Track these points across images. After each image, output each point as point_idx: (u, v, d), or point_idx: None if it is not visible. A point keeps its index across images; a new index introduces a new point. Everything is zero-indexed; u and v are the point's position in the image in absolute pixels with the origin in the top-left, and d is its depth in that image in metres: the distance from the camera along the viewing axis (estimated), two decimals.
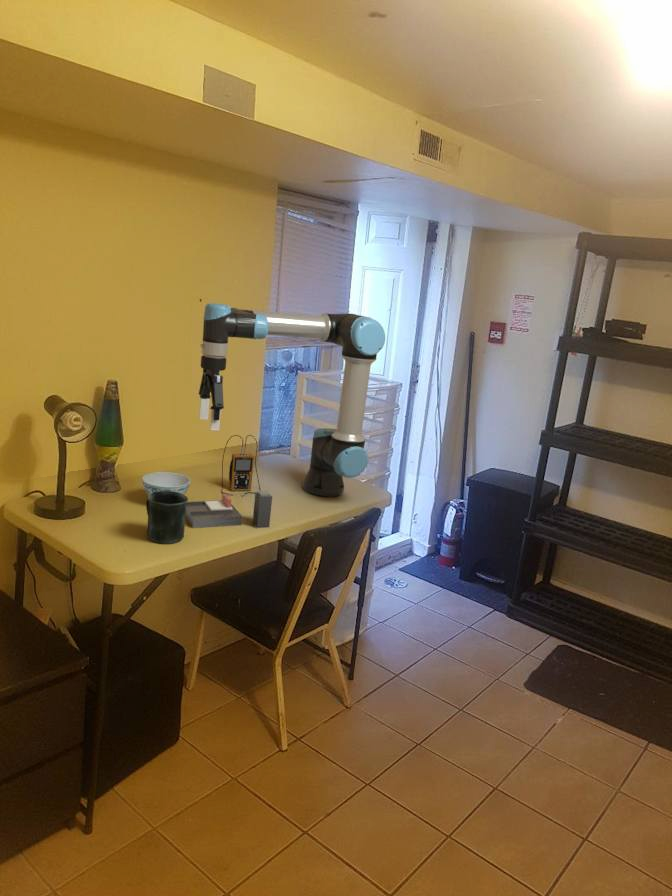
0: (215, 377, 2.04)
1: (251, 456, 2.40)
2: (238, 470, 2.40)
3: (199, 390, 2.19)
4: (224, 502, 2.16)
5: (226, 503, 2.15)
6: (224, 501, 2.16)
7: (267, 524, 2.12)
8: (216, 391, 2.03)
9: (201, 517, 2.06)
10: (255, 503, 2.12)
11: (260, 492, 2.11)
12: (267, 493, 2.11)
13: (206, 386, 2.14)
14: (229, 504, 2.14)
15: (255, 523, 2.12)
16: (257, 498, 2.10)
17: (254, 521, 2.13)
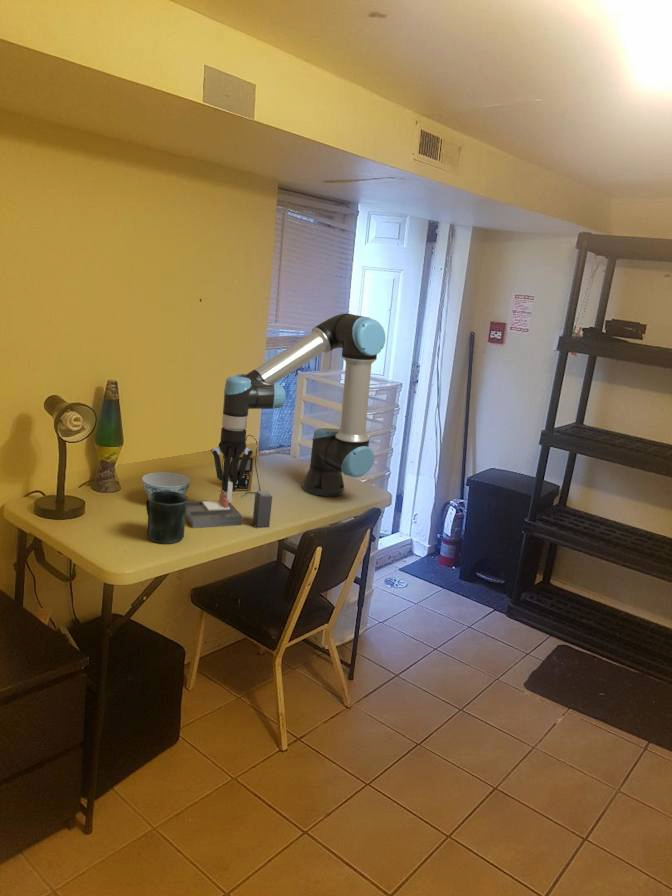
0: None
1: (251, 456, 2.40)
2: None
3: (239, 474, 2.17)
4: (221, 502, 2.16)
5: (223, 503, 2.14)
6: (221, 501, 2.16)
7: (267, 524, 2.12)
8: (215, 464, 2.12)
9: (201, 517, 2.06)
10: (255, 503, 2.12)
11: (260, 492, 2.11)
12: (267, 493, 2.11)
13: (232, 460, 2.14)
14: (226, 504, 2.13)
15: (255, 523, 2.12)
16: (257, 498, 2.10)
17: (254, 521, 2.13)
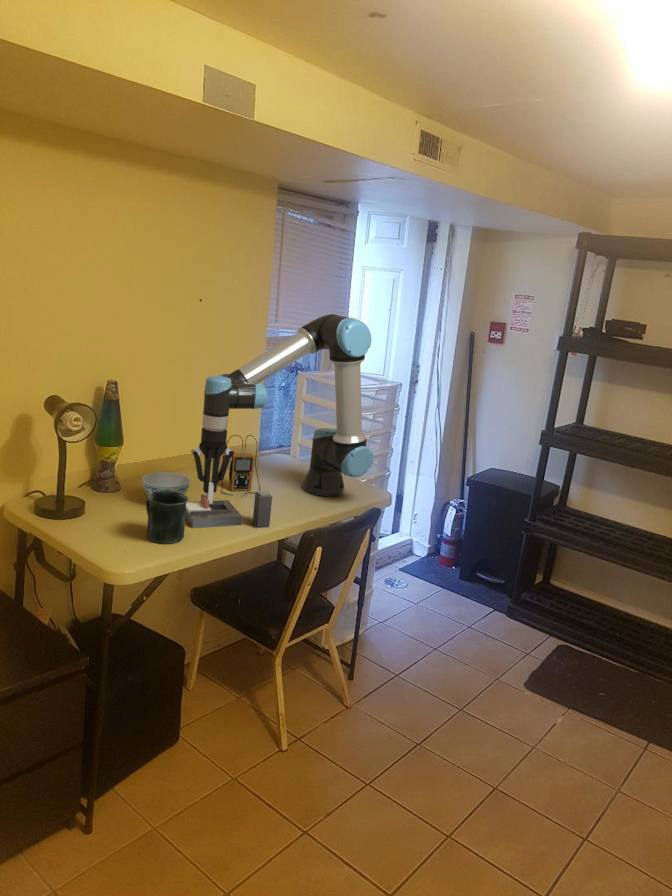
0: None
1: (251, 456, 2.40)
2: (238, 470, 2.40)
3: (221, 474, 2.14)
4: (203, 503, 2.13)
5: (204, 504, 2.12)
6: (202, 502, 2.13)
7: (267, 524, 2.12)
8: None
9: (201, 517, 2.06)
10: (255, 503, 2.12)
11: (260, 492, 2.11)
12: (267, 493, 2.11)
13: (213, 461, 2.11)
14: (207, 505, 2.11)
15: (255, 523, 2.12)
16: (257, 498, 2.10)
17: (254, 521, 2.13)
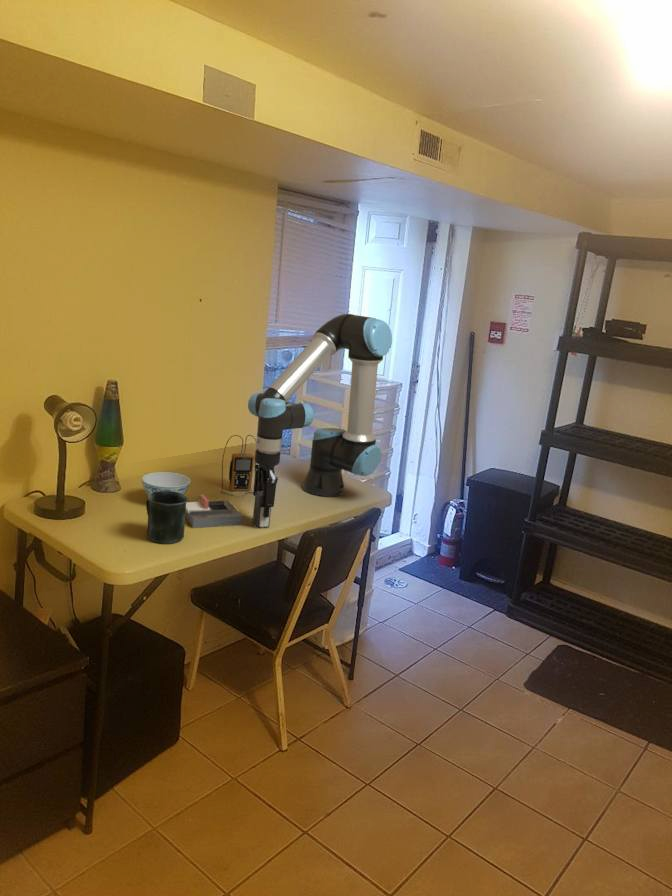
0: (270, 479, 2.04)
1: (251, 456, 2.40)
2: (238, 470, 2.40)
3: (253, 491, 2.16)
4: (202, 503, 2.13)
5: (204, 504, 2.11)
6: (202, 502, 2.13)
7: None
8: (269, 492, 2.05)
9: (201, 517, 2.06)
10: (255, 503, 2.12)
11: (260, 492, 2.11)
12: None
13: (261, 482, 2.11)
14: (207, 505, 2.11)
15: (255, 523, 2.12)
16: (257, 498, 2.10)
17: (254, 521, 2.13)
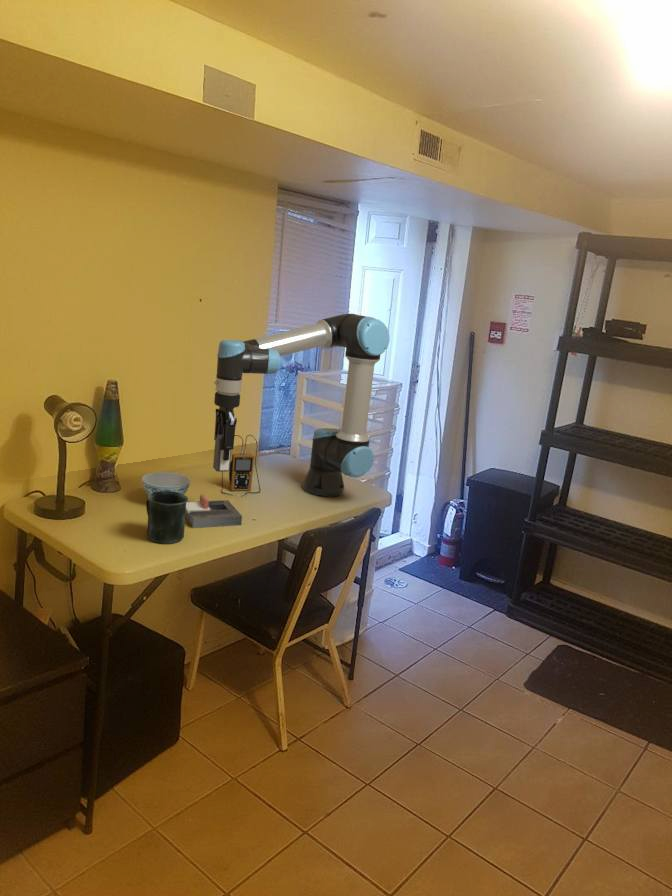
0: (229, 421, 2.02)
1: (251, 456, 2.40)
2: (238, 470, 2.40)
3: (214, 436, 2.14)
4: (202, 503, 2.13)
5: (204, 504, 2.11)
6: (202, 502, 2.13)
7: None
8: (228, 434, 2.04)
9: (201, 517, 2.06)
10: (215, 447, 2.11)
11: (220, 435, 2.10)
12: None
13: (221, 426, 2.10)
14: (207, 505, 2.11)
15: (215, 467, 2.11)
16: (217, 441, 2.09)
17: (214, 465, 2.12)
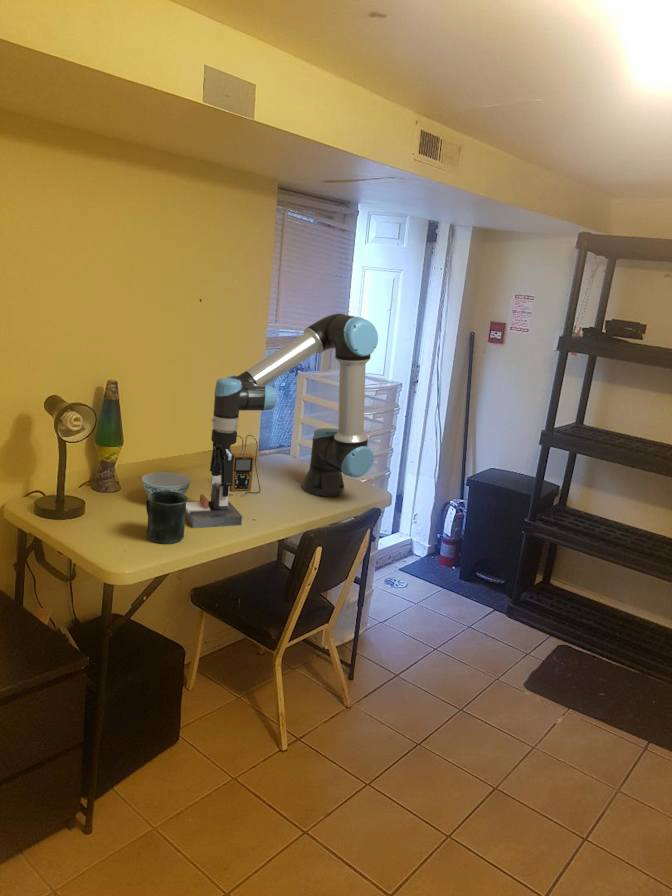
0: (226, 456, 2.05)
1: (251, 456, 2.40)
2: (238, 470, 2.40)
3: (210, 467, 2.19)
4: (202, 503, 2.13)
5: (204, 504, 2.11)
6: (202, 502, 2.13)
7: None
8: (226, 469, 2.06)
9: (201, 517, 2.06)
10: (212, 494, 2.15)
11: (217, 484, 2.13)
12: None
13: (217, 460, 2.14)
14: (207, 505, 2.11)
15: None
16: (214, 490, 2.13)
17: None
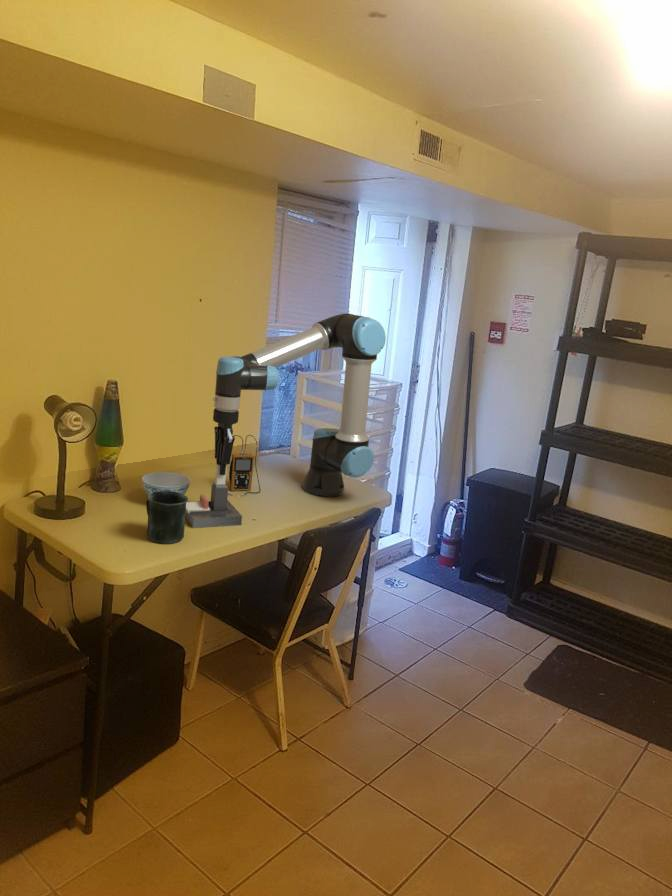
0: (227, 439, 2.04)
1: (251, 456, 2.40)
2: (238, 470, 2.40)
3: (215, 454, 2.14)
4: (202, 503, 2.13)
5: (204, 504, 2.11)
6: (202, 502, 2.13)
7: None
8: (225, 450, 2.06)
9: (201, 517, 2.06)
10: (211, 495, 2.15)
11: None
12: (223, 485, 2.14)
13: None
14: (207, 505, 2.11)
15: None
16: (213, 489, 2.13)
17: None
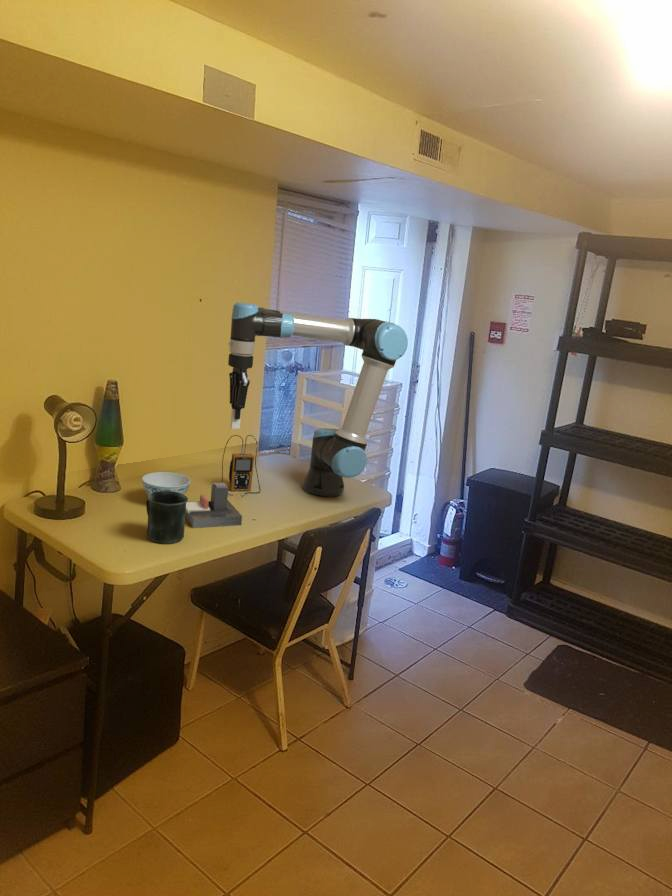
0: (242, 382, 2.10)
1: (251, 456, 2.40)
2: (238, 470, 2.40)
3: None
4: (202, 503, 2.13)
5: (204, 504, 2.11)
6: (202, 502, 2.13)
7: None
8: (240, 394, 2.12)
9: (201, 517, 2.06)
10: (212, 495, 2.15)
11: (216, 484, 2.14)
12: (223, 485, 2.14)
13: None
14: (207, 505, 2.11)
15: None
16: (213, 489, 2.13)
17: None
